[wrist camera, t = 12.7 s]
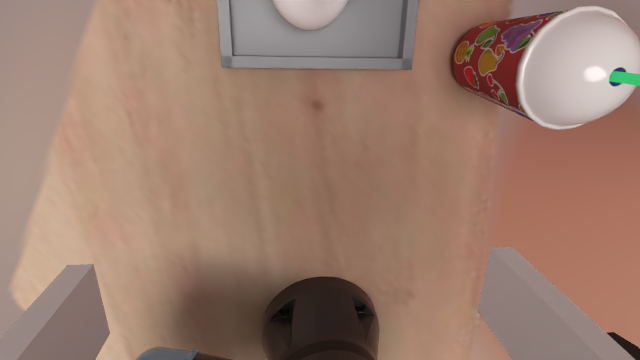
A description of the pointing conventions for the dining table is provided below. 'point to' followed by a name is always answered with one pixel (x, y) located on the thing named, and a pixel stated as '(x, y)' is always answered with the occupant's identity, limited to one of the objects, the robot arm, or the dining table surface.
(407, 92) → the dining table surface
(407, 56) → the tray
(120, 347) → the dining table surface
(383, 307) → the dining table surface
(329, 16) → the white trefoil knot
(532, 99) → the smoothie
